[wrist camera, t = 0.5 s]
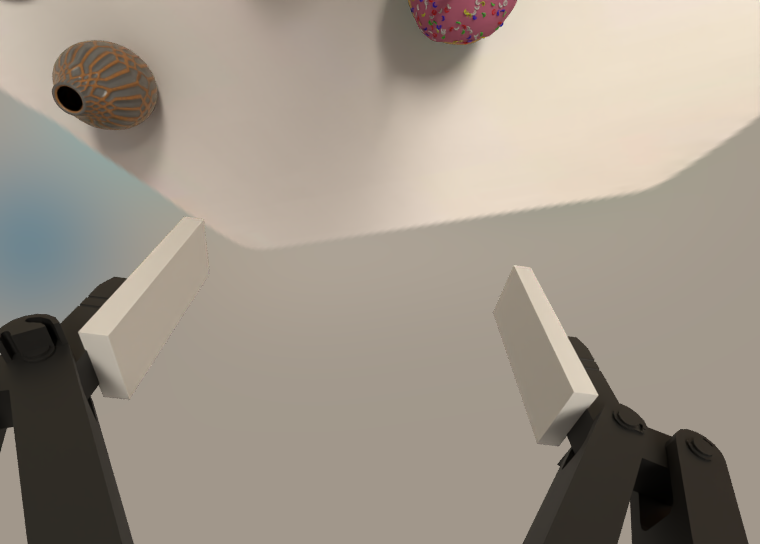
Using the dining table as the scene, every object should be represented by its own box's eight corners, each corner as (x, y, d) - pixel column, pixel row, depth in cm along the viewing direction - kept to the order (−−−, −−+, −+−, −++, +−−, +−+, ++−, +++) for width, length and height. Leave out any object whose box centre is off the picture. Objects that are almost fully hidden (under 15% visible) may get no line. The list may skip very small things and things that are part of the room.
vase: (109, 18, 34) (34, 22, 27) (182, 78, 37) (132, 97, 29) (79, 81, 37) (5, 100, 30) (149, 133, 39) (96, 162, 32)
